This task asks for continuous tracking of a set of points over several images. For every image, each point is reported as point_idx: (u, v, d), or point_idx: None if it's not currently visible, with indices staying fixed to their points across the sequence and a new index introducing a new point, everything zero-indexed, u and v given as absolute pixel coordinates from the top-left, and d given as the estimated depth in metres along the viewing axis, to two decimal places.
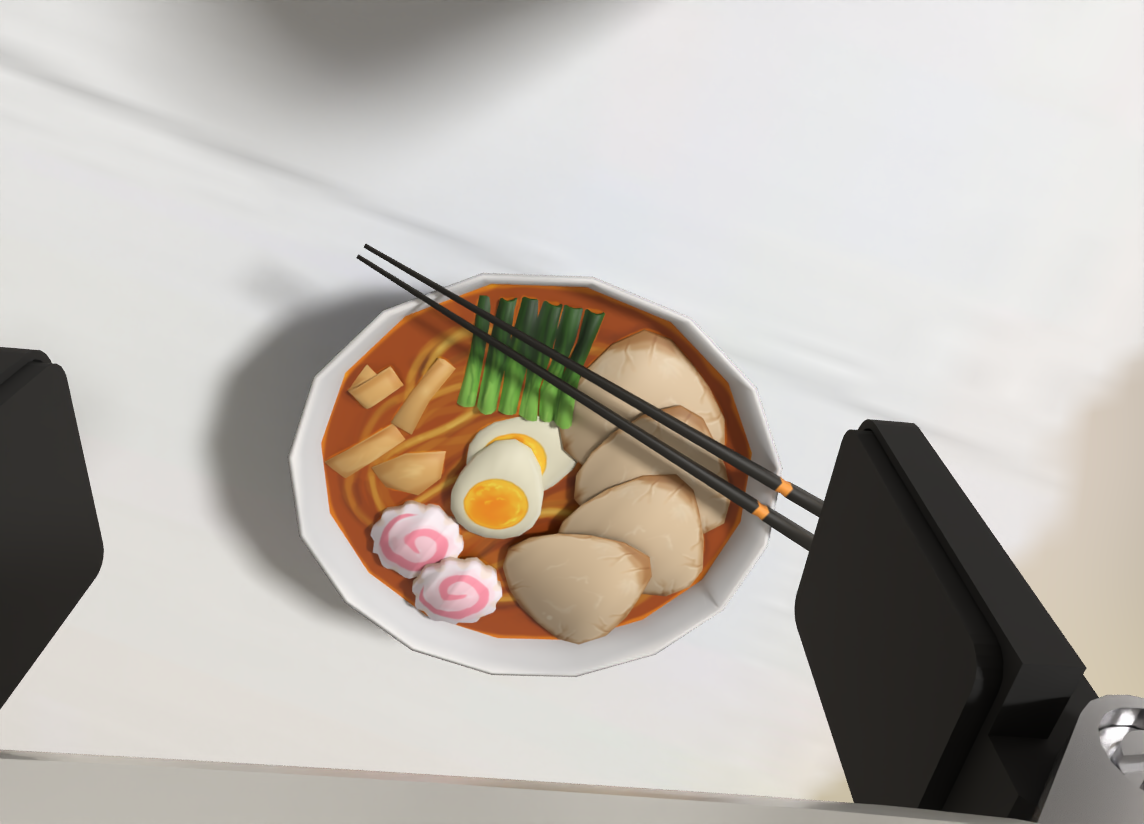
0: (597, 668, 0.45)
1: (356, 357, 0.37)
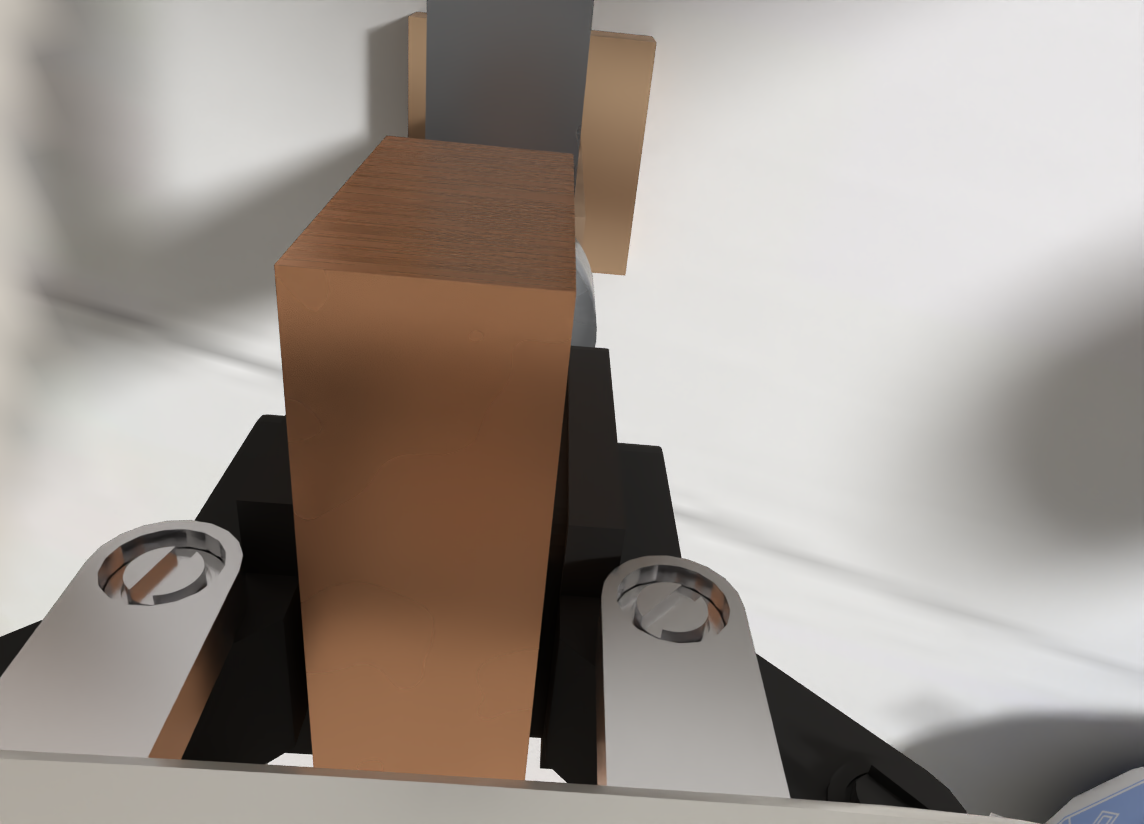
0: None
1: None
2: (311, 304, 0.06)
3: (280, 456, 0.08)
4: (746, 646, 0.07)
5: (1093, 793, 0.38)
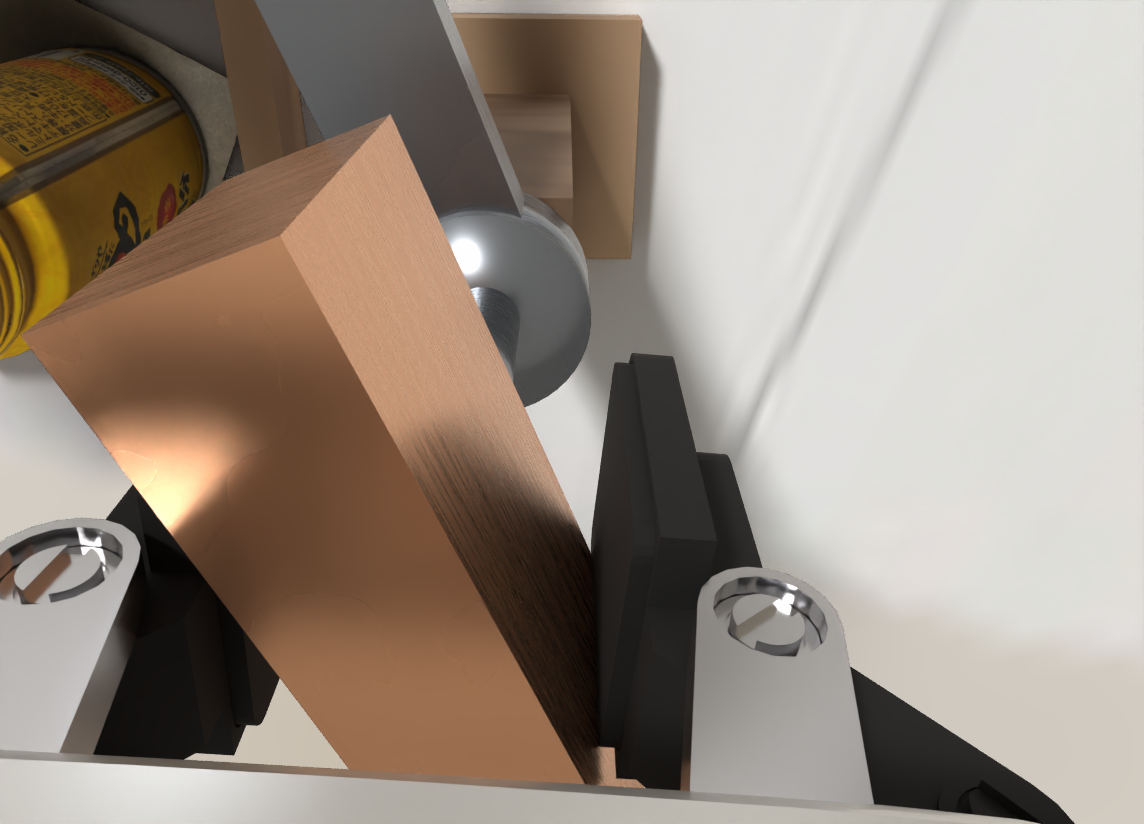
0: None
1: None
2: (72, 356, 0.06)
3: None
4: (842, 665, 0.07)
5: None
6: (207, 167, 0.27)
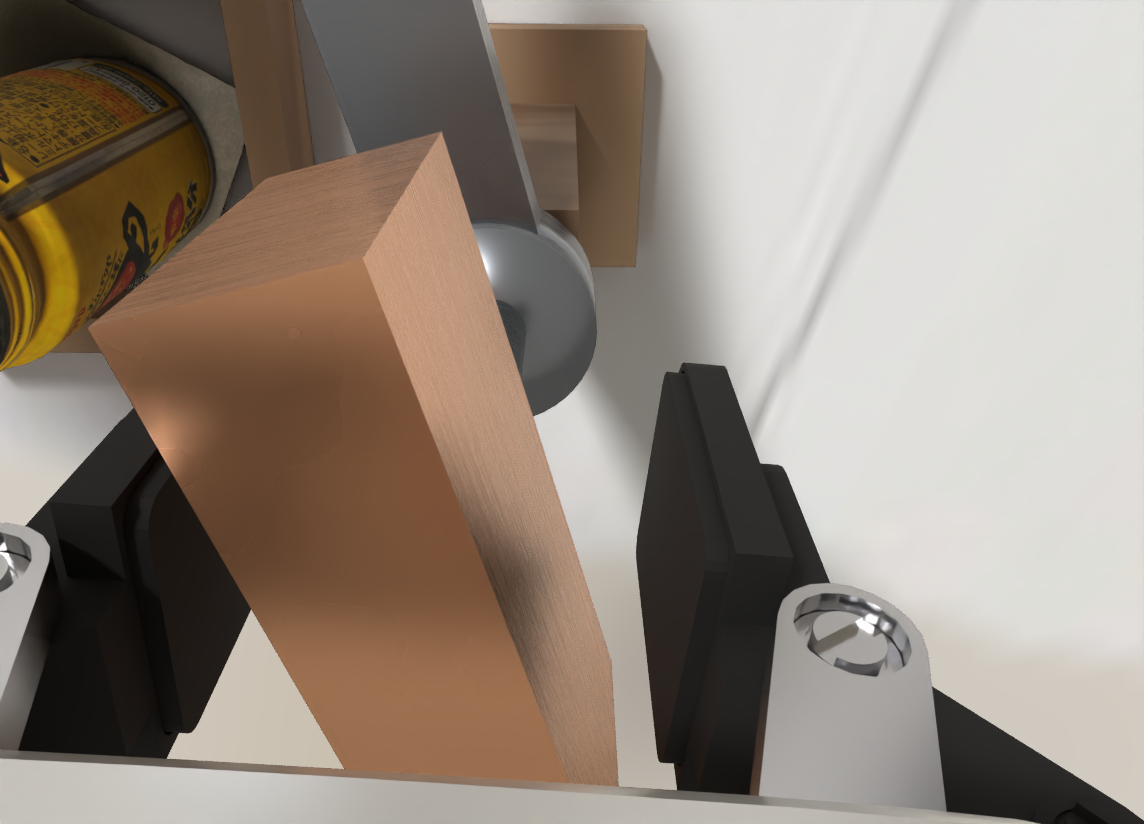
0: None
1: None
2: (136, 353, 0.06)
3: (110, 456, 0.08)
4: (924, 690, 0.06)
5: None
6: (214, 175, 0.27)
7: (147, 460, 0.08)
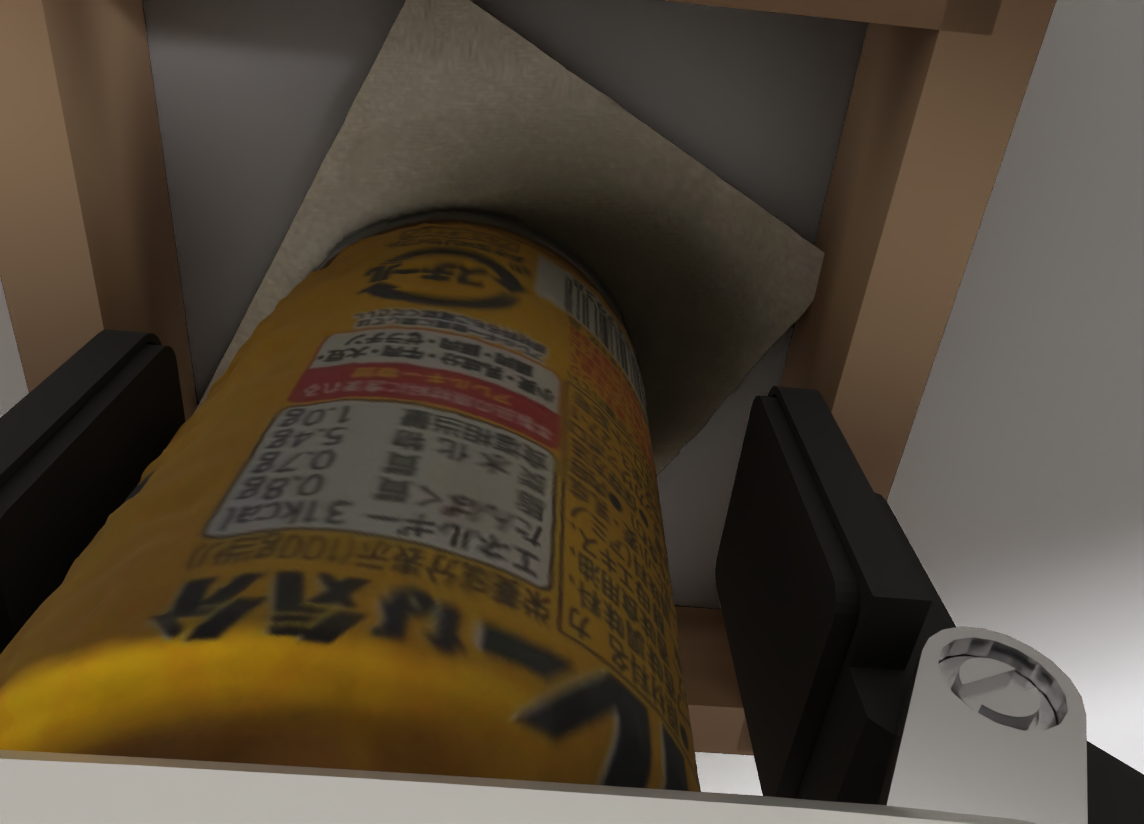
0: None
1: None
2: None
3: None
4: (1077, 753, 0.06)
5: None
6: None
7: None
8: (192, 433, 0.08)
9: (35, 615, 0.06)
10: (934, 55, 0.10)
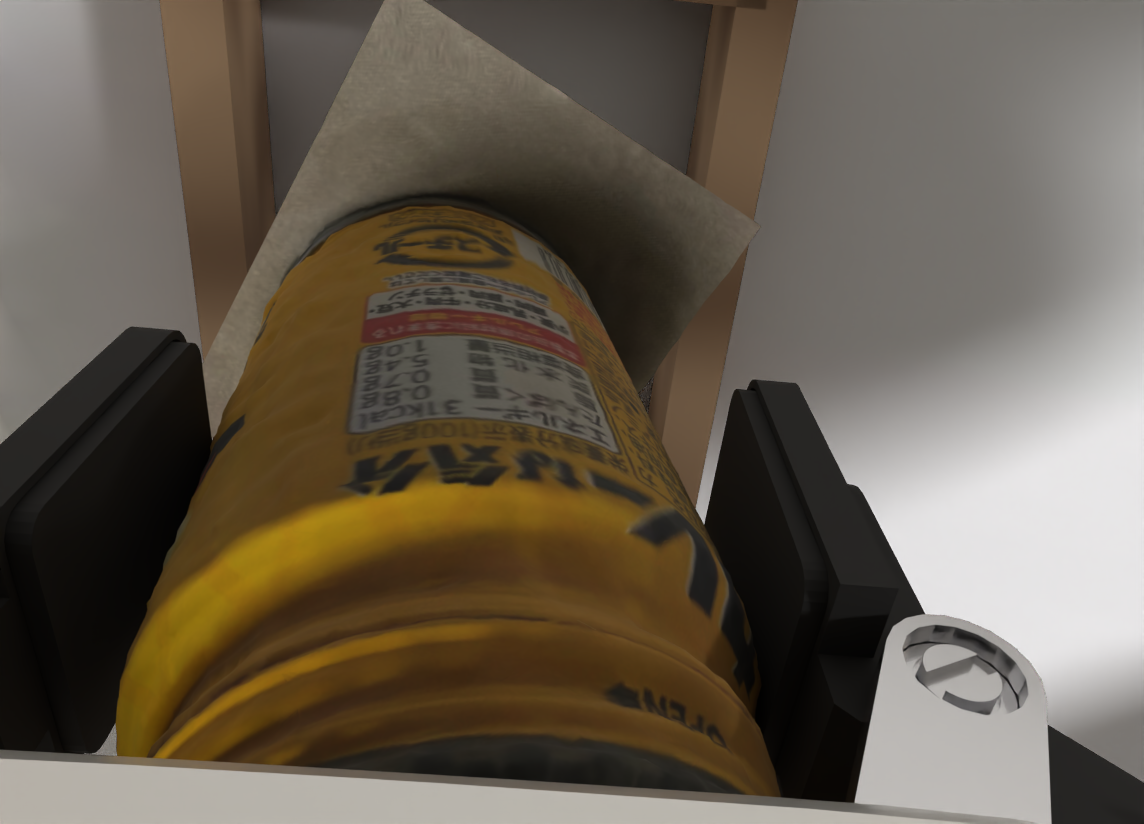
0: None
1: None
2: None
3: None
4: (1039, 736, 0.06)
5: None
6: None
7: (36, 470, 0.07)
8: (275, 379, 0.09)
9: (206, 516, 0.07)
10: (734, 22, 0.17)
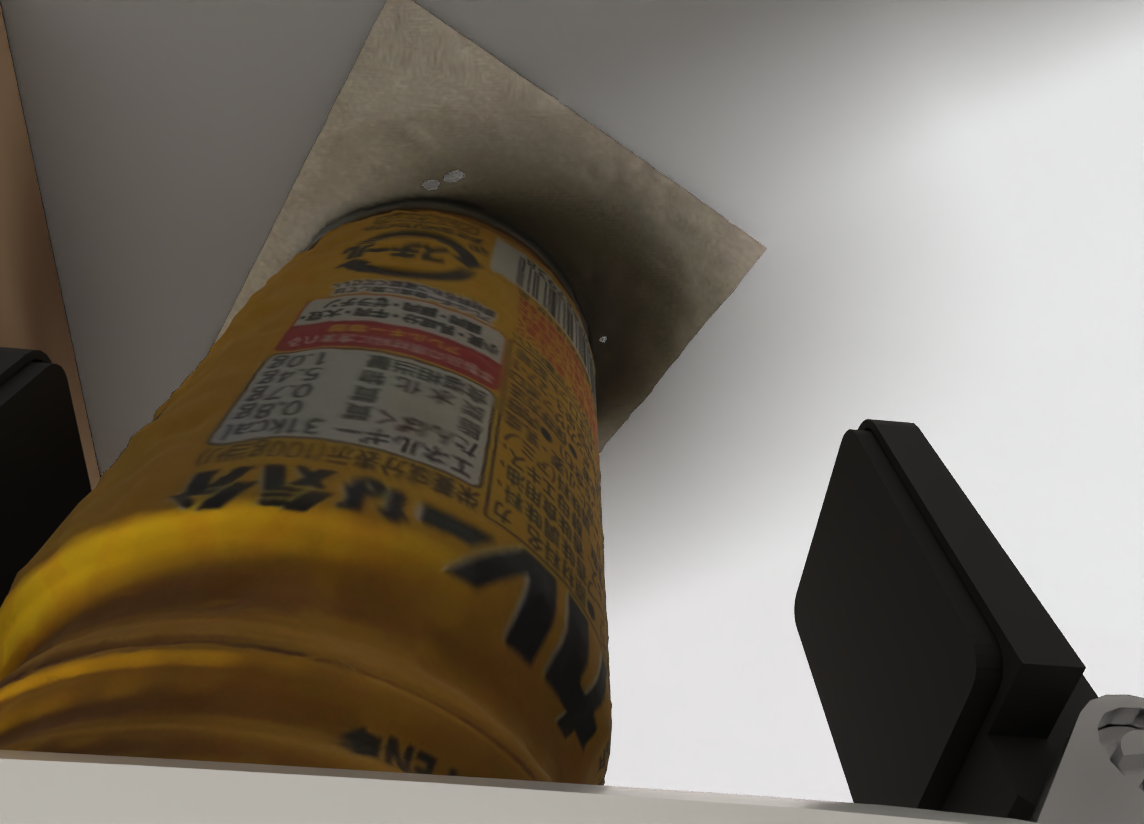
0: None
1: None
2: None
3: None
4: None
5: None
6: None
7: None
8: (196, 378, 0.10)
9: (75, 508, 0.08)
10: None
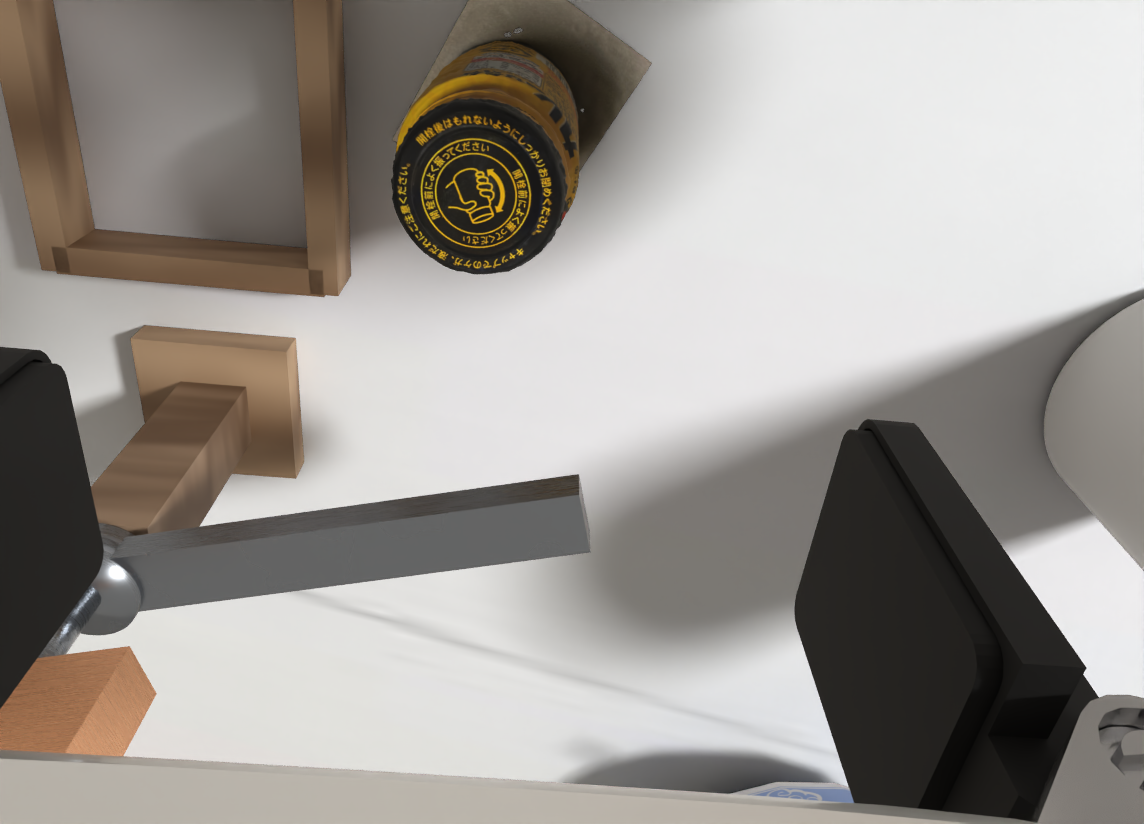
0: None
1: None
2: None
3: None
4: None
5: None
6: None
7: None
8: None
9: (424, 91, 0.27)
10: None
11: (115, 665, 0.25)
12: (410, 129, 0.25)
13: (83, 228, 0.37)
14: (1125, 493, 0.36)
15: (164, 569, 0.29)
